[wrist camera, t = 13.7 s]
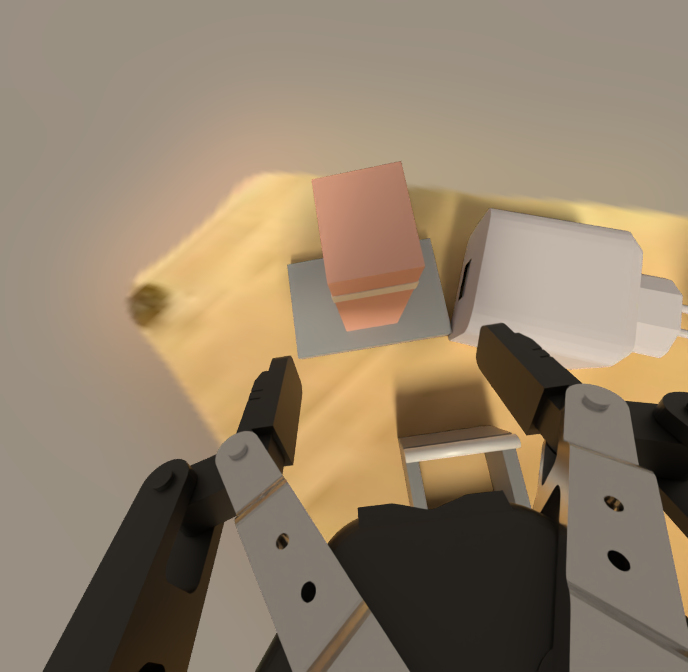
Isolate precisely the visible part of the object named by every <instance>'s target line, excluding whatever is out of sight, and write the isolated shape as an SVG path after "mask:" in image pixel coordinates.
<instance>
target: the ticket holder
mask: <svg viewBox="0 0 688 672" xmlns="http://www.w3.org/2000/svg"><path fill="white" fill-rule="evenodd" d="M398 442H399V448H400V453H401V459H402V464H403V470H404V475H405V481H406V486H407V492H408V497H409V503H410V506H411V507H417V508H423V509H428V508H427V503H426V498H425V493H424V487H423V482H422V477H421V472H420V467H419V461H426V460H434V459H441V458H448V457H456V456H463V455H471V454H478V453H485V456H486V460H487V464H488V469H489V473H490V477H491V481H492V485H493V489H494V491H501V490H503V492H504V494H505V496H506V498H507V499H508V501H509V502H512V503H516V504H520V505H523V506H526V507H528V508H531V505H530V502H529V498H528V494H527V490H526V486H525V483H524V479H523V475H522V471H521V467H520V464H519V460H518V456H517V452H516V448H520V447H521V442H520V439H519V438H518V436H517V435H516V434H512V433H511V432H508V431H505V430H502V429H499V428H496V427H493V426H490V425H487V426H480V427H473V428H466V429H459V430H452V431H445V432H438V433H431V434H424V435H416V436H409V437H402V438H398Z"/></svg>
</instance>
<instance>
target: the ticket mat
mask: <svg viewBox="0 0 688 672" xmlns="http://www.w3.org/2000/svg"><path fill="white" fill-rule="evenodd" d="M419 241H420V245H421V250H422V254H423V258H424V263H425V268H424V270H423V272H422V274H421V276H420V278H419V283H418V285H417V287H416V289H414V290H413V292H412V294H411V296H410V298H409V300H408V302H407V305H406V307H405V309H404V311H403V313H402V315H401V317H400V319H399V321H398V323H395V324H389V325H383V326H377V327H371V328H366V329H360V330H354V331H348V332H347V331H346V329H345V326H344V324H343V321H342V319H341V316H340V314H339V311H338V309H337V306H336V304H335V303H334V302H333V300H332V297H331V292H330V289H329V287H328V284H327V279H326V272H325V265H324V259H323V258H321V259H316V260H310V261H305V262H300V263H294V264H289V265H287V266H288V275H289V283H290V292H291V300H292V309H293V317H294V326H295V334H296V343H297V351H298V358H299V359H306V358H313V357H319V356H325V355H331V354H337V353H343V352H349V351H355V350H362V349H368V348H374V347H380V346H386V345H392V344H398V343H404V342H411V341H417V340H423V339H429V338H435V337H441V336H447V335H450V334H451V333H452V329H451V324H450V320H449V316H448V312H447V308H446V303H445V299H444V295H443V291H442V287H441V282H440V278H439V274H438V270H437V266H436V261H435V257H434V253H433V249H432V245H431V240H430V238H428V239H423V240H419Z"/></svg>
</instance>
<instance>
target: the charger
mask: <svg viewBox="0 0 688 672" xmlns="http://www.w3.org/2000/svg"><path fill="white" fill-rule="evenodd" d="M471 258H472V259H471ZM470 259H471V261H470ZM642 260H643V251H642V249H641V248H640V246H639V245H638V243H637V242H636V240H635V239H634V237H633V236H632V234H631V233H630V232H628V231H624V230H618V229H612V228H606V227H600V226H594V225H588V224H582V223H576V222H570V221H564V220H558V219H552V218H546V217H540V216H534V215H529V214H523V213H517V212H511V211H505V210H499V209H493V208H489V209H488V210H487V212H486V213H485V215H484V216H483V218H482V219H481V220H480V222H479V223H478V225H477V226H476V228H475V229H474V231H473V232H472V233H471V235H470V238H469V240H468V243H467V247H466V252H465V257H464V261H463V266H462V271H461V276H460V281H459V286H458V291H457V295H456V300H455V305H454V310H453V315H452V320H451V329H452V333H451V334H450V335H449V336H448V338H449V341H453V342H457V343H462V344H466V345H470V346H474V347H477V346H478V339H479V333H480V328H481V327H482V326H483V325H490V324H496V323H504V324H506V325H507V326H508V327H509V328H510V329H511V330H512V331H513V332H514V333H521V334H523V335H525V336H527V337H529V338H531V339H533V340H534V341H535V342H536V343H537V344H538V345H540V346H541V347H542V350H543V349H544V350H545V351H546V352H547V353H549V354H550V357H553V358H554V359H555V360H556V361H558V362H559V363H560V364H561V365H562V366H563V367H564V368H567V369H571V370H572V369H586V368H600V367H610V366H613V365H614V364H616V363H618V362H619V361H621V360H622V359H624V358H625V357H627V356H628V355H630V354H631V353H632V352H634V353H639V354H643V355H648V356H652V357H657V358H661V357H662V356H663V355H665V354H666V353H667V352H668V350H669V349H670V347H671V346H672V344H673V342H674V341H675V339H676V337H677V336H679V337H684V338H688V330H684V329H681V315H682V313H687V314H688V306H687V305H682V299H683V295H682V294H681V293H680V291H679V290H678V288H677V287H676V285H675V284H674V283H673V281H671V280H669V279H666V278H660V277H655V276H650V275H644V274H641V271H642ZM469 261H470V262H469ZM468 262H469V265H468V270H467V275H466V280H465V285H464V290H463V295H462V298H461V299H460V300H459V301H458V299H459V294H460V289H461V284H462V279H463V274H464V269H465V266H466V264H467V263H468Z"/></svg>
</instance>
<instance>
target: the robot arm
mask: <svg viewBox="0 0 688 672" xmlns="http://www.w3.org/2000/svg"><path fill="white" fill-rule="evenodd" d="M476 360H477V364H478V367H479V369H480V370H481V372H482V373H483V375H484V376H485V377H486V379H487V380H488V382H489V383H490V384H491V386H492V387H493V389H494V390H495V392H496V393H497V394H498V396H499V397H500V399H501V400H502V401H503V403H504V404H505V406H506V407H507V408H508V410H509V411H510V413H511V414H512V415H513V417H514V418H515V420H516V421H517V423H518V424H519V425H520V427H521V428H522V430H523V431H524V432H525V434H526V435H533V434H541V435H542V436H543V438H544V442H543V445H542V453H541V461H540V470H539V479H538V488H537V494H536V498H535V501H534V505H533V509H531V508H528V507H526V506H523V505H520V504H516V503H512V502H509V501H508V499H507V498H506V496H505V494H504V492H503V490H501V491H492V492H484V493H476V494H467V495H464V496H462V497H460V498H458V499H455V500H453V501H451V502H449V503H447V504H444V505H442V506H440V507H438V508H435V509H431V510H430V509H423V508H417V507H411V506H405V505H399V504H393V503H392V504H384V505H375V506H367V507H359V508H358V519H356V520H354V521H352V522H350V523H349V524H347V525H345V526H344V527H343V528H342V529H341V530H339V531H338V532H337V533H336V534H335V535H334V536H333V537H332V539H331V540H330V541H329V542H328V544H327V543H326V541H325V540H324V538H323V537H322V535H321V533H320V532H319V530H318V529H317V527H316V526H315V524H314V523H313V521H312V519H311V518H310V516H309V515H308V513H307V512H306V510H305V509H304V507H303V505H302V504H301V502H300V501H299V499H298V498H297V496H296V494H295V493H294V491H293V490H292V488H291V487H290V485H289V484H288V482H287V481H286V479H285V478H284V477H283V475H282V474H283V467H284V466H290V465H293V462H294V455H295V447H296V439H297V431H298V423H299V415H300V407H301V400H302V385H301V381H300V378H299V375H298V373H297V370H296V367H295V364H294V362H293V359H292V357H291V356H284V357H278V358H273V359H272V361H271V364H270V368H269V371H264V372H262V373H261V374H260V375H259V377H258V378H257V379H256V380H255V382H254V385H253V387H252V390H251V393H250V396H249V399H248V400H249V401H248V402H247V404H246V407H245V410H244V413H243V416H242V419H241V422H240V424H239V427H238V430H237V433H236V434H234V435H233V436H231V437H230V438H228V439H227V440H226V441H225V442H224V443H223V444H222V445H221V447H220V448H219V450H218V452H217V454H216V455H214V456H212V457H210V458H207V459H205V460H203V461H200V462H198V463H195V464H193V465H191V466H190V465H189V464H188V463H187V462H186V461H185V460H182V459H174V460H171V461H168V462H166V463H164V464H162V465H161V466H159V467H158V468H157V469H155V470H154V471H153V472H152V473H151V474H150V475H149V476H148V477H147V479H146V480H145V481H144V483H143V485H142V486H141V488H140V490H139V492H138V494H137V496H136V498H135V500H134V501H133V504H132V505H131V507H130V509H129V511H128V513H127V515H126V516H125V518H124V520H123V522H122V524H121V526H120V528H119V529H118V532H117V533H116V535H115V537H114V539H113V541H112V543H111V544H110V547H109V548H108V550H107V552H106V554H105V556H104V558H103V560H102V562H101V563H100V565H99V567H98V569H97V571H96V573H95V575H94V576H93V578H92V580H91V582H90V584H89V586H88V588H87V589H86V591H85V593H84V595H83V597H82V599H81V601H80V603H79V604H78V606H77V608H76V610H75V612H74V614H73V616H72V618H71V619H70V621H69V623H68V625H67V627H66V629H65V631H64V633H63V634H62V636H61V638H60V640H59V642H58V644H57V646H56V648H55V649H54V651H53V653H52V655H51V657H50V659H49V661H48V662H47V664H46V666H45V668H44V670H43V672H187V669H188V665H189V661H190V657H191V653H192V649H193V645H194V641H195V637H196V633H197V629H198V625H199V621H200V617H201V613H202V609H203V605H204V601H205V597H206V593H207V589H208V585H209V581H210V577H211V572H212V569H213V565H214V561H215V557H216V553H217V549H218V545H219V541H220V537H221V533H222V529H223V525H224V522H225V521H227V520H229V519H231V518H233V517H235V516H237V517H236V518H235V525H236V528H237V531H238V534H239V536H240V539H241V541H242V544H243V546H244V549H245V551H246V554H247V556H248V559H249V562H250V564H251V567H252V569H253V572H254V574H255V577H256V580H257V582H258V585H259V587H260V590H261V592H262V595H263V597H264V600H265V603H266V605H267V608H268V610H269V613H270V615H271V618H272V620H273V623H274V626H275V628H276V631H277V633H276V635H275V637H274V639H273V640H272V642H271V644H270V646H269V648H268V649H267V651H266V653H265V655H264V657H263V658H262V660H261V662H260V664H259V665H258V667H257V669H256V671H255V672H688V617H687V616H685V613H684V608H683V603H682V599H681V594H680V589H679V584H678V579H677V575H676V570H675V565H674V560H673V555H672V551H671V546H670V541H669V536H668V531H667V527H666V522H665V517H664V512H665V513H666V514H667V515H668V516H669V517H670V519H671V520H672V521H673V522H674V523H675V524H676V525H677V526H678V528H679V529H680V530H681V531H682V532H683V533H684V534H685V536H686V537H687V538H688V392H672V393H668V394H666V395H665V396H664V397H663V398H662V400H661V401H660V402H659V404H652V403H642V402H631V401H624V400H623V399H622V398H621V397H620V396H618V395H617V394H615V393H613V392H612V391H610V390H607V389H605V388H602V387H599V386H596V385H591V384H582V383H581V382H580V381H579V380H578V379H577V378H576V377H574V376H573V375H572V374H571V373H570V372H569V371H568V370H567V369H565V368H564V367H563V366H562V365H561V364H560V363H559V362H558V361H556V360H555V359H554V358H553V357H550V354H549V353H547V352H546V351H545V350H544V349H543V350H542V347H541V346H540V345H538V344H537V343H536V342H535V341H534V340H533V339H531V338H529V337H527V336H525V335H523V334H521V333H514V332H513V331H512V330H511V329H510V328H509V327H508V326H507V325H506V324H504V323H496V324H490V325H483V326H482V327H481V328H480V333H479V339H478V346H477V352H476ZM663 511H664V512H663Z"/></svg>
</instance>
